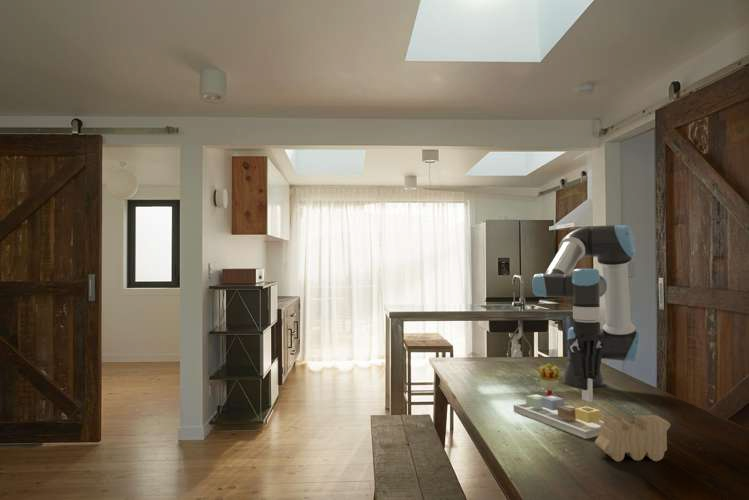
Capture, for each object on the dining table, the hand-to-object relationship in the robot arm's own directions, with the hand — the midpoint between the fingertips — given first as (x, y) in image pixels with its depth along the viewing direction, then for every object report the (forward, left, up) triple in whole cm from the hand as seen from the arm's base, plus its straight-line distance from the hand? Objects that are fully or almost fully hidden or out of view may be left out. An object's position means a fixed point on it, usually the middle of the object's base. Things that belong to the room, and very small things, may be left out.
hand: (587, 400), depth 155 cm
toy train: (+6, +19, -9) cm, 22 cm away
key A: (0, 0, -6) cm, 6 cm away
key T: (0, -7, -7) cm, 10 cm away
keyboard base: (0, -11, -9) cm, 14 cm away
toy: (-13, -28, -9) cm, 32 cm away
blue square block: (0, -14, -6) cm, 15 cm away
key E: (0, -21, -7) cm, 22 cm away
